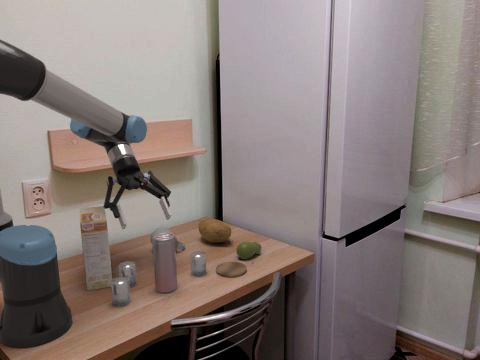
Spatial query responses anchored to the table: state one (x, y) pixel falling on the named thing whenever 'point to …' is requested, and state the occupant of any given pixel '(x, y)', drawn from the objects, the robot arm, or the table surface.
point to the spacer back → (128, 272)
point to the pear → (248, 249)
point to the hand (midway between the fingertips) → (147, 222)
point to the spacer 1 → (120, 291)
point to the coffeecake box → (95, 247)
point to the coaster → (231, 269)
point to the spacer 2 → (198, 263)
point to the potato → (214, 230)
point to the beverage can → (164, 262)
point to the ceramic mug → (159, 230)
